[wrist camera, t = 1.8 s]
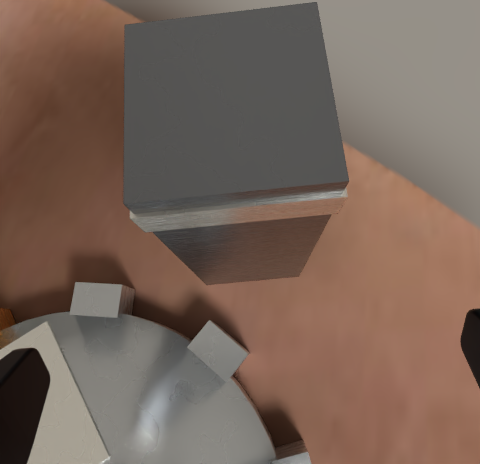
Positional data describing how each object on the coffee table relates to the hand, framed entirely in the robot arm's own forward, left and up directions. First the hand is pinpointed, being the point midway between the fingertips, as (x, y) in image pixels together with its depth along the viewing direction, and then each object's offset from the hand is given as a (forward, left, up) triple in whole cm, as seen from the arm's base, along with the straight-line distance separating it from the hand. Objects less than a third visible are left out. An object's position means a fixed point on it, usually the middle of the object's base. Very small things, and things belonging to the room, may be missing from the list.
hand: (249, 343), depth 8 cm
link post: (+6, -1, -12) cm, 13 cm away
